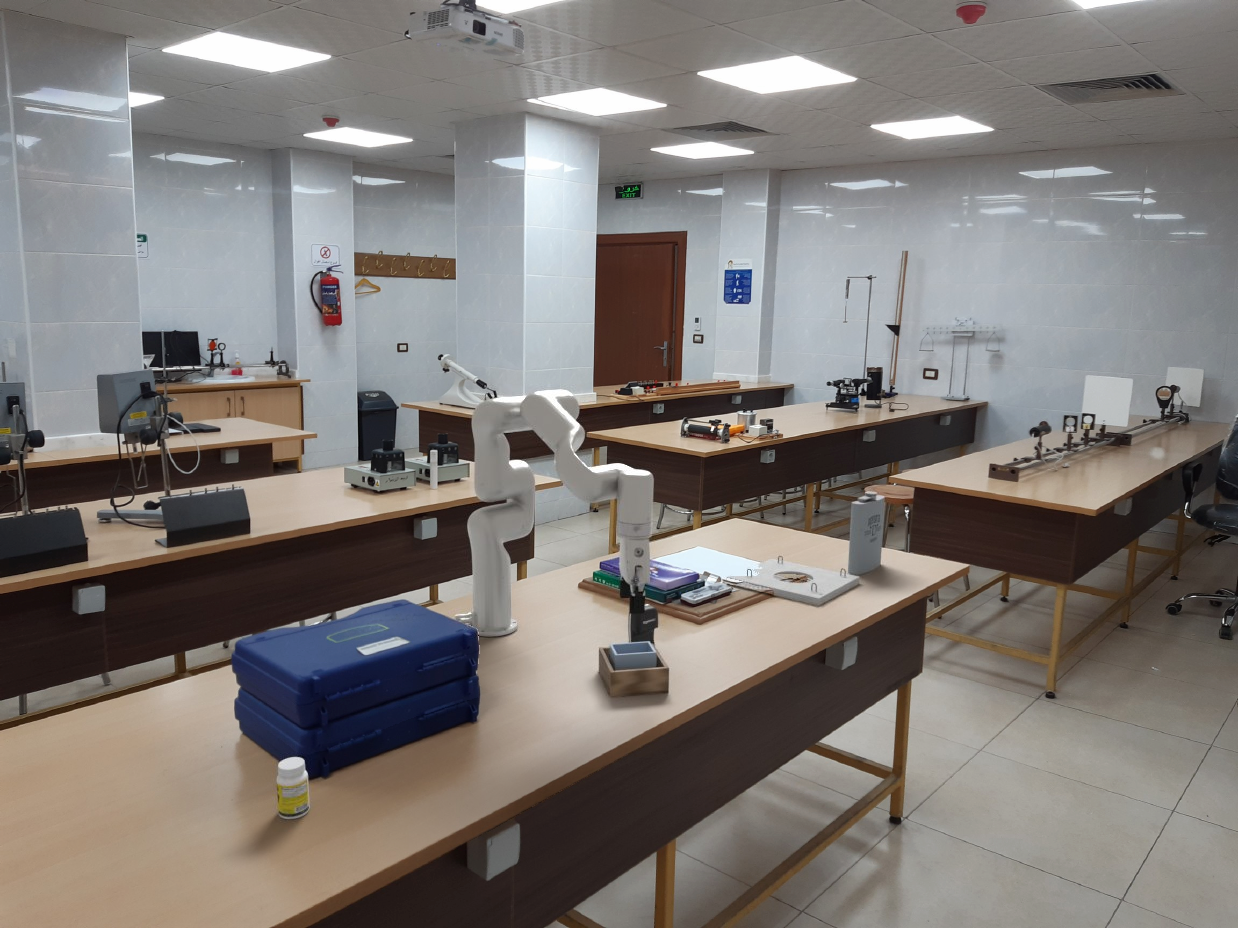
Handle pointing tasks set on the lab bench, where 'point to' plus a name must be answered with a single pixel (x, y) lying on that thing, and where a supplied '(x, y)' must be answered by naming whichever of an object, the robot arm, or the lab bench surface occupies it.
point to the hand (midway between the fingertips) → (631, 605)
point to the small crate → (632, 656)
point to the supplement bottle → (292, 788)
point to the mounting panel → (813, 591)
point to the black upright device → (643, 625)
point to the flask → (866, 533)
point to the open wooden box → (633, 677)
